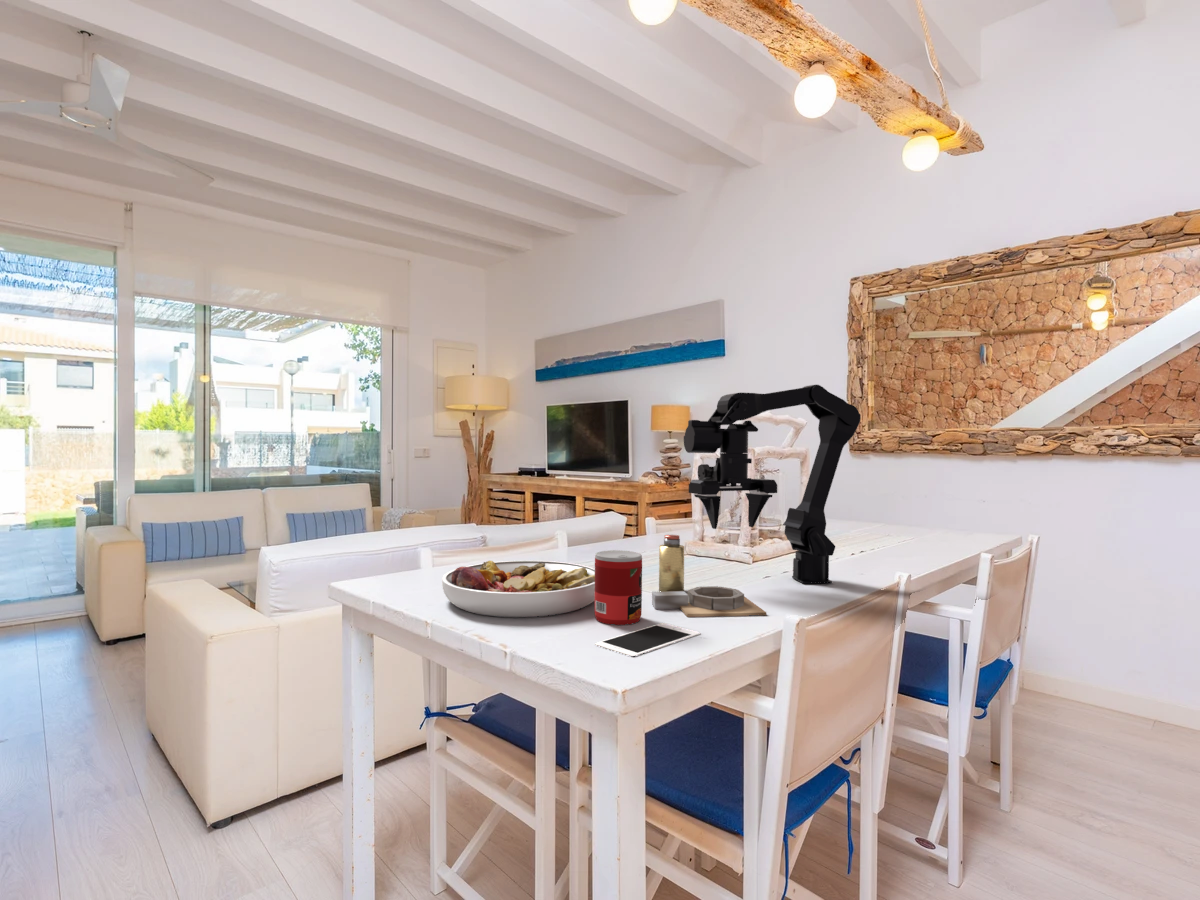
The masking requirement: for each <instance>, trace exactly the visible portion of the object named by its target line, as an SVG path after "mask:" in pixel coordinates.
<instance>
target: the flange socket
mask: <svg viewBox="0 0 1200 900" xmlns="http://www.w3.org/2000/svg"><path fill="white" fill-rule="evenodd" d="M651 605H653V606H652V607H653V608H654V610H671V609H672V610H673V609H674V610H676V609H677V610H679V609H680V610H682V611H681V612H682V613H683V614H684V616H686V618H687V617H688V618H691V617H692V618H695V617H696V618H697V617H698V618H700V617H703V618H704V617H706V618H707V617H743V616H744V617H748V616H749V615H759V616H767V611H765V610H764V609H763V608H761V607H759V606H758V604H755V603H754V602H753V601H752V600H750V599H749V598H747V597H746V596H745V593H743V592H742V591H741V590H739V589H737V588H731V587H724V586H718V585H716V586H709V585H708V586H696V587H694V588H693V587H692V588H690V589H688V590H687V592H686V591H685V590H684V591H674V592H660V591H652V592H651Z"/></svg>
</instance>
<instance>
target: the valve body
mask: <svg viewBox="0 0 1200 900" xmlns="http://www.w3.org/2000/svg"><path fill="white" fill-rule="evenodd" d="M658 546H659V547H658V549H659V551H658V553H659V554H658V555H659V556H658V557H659V561H658V592H660V591H661V592H674V591H684V592H685V545H682V544H681V538H680V535H679V534H678V535H677V534H665V535H664V536H663V544H659V545H658Z"/></svg>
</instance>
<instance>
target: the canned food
mask: <svg viewBox="0 0 1200 900" xmlns="http://www.w3.org/2000/svg"><path fill="white" fill-rule="evenodd" d="M594 556H595V557H594V569H595V600H594V617H595V620H596V621H598V622H599V623H601V622H602V624H605V625H611V624H615V625H614V626H626V625H625V624H629V625H633V624H632V623H634V624H636V622H637V623H639V621H640V620H641V617H642V601H643V598H642V597H643V557H642V556H643V555H642V553H640V552H636V551H630V550H618V549H617V550H616V549H615V550H602V551H598V552H596V553H595V555H594Z"/></svg>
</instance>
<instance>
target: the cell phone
mask: <svg viewBox="0 0 1200 900" xmlns="http://www.w3.org/2000/svg"><path fill="white" fill-rule="evenodd" d="M699 635H701V632H700V631H696V630H692V629H689V628H688V629H687V628H685V627H680V626H676V625H674V624H673V625H672V624H669V623H665V622H661V623H657V624H654V625H650V626H647V627H644V628H639V629H638V630H633V631H630V632H626V633H623V634H619V635H617V636H613V637H610V638H607V639H603V640H601V641H598V642H595V643H594V646H595V645H597V646H596V647H598V646H600V647H599V648H601V647H603V648H602V649H604V648H605V650H607V649H609V650H608V651H611V650H612V651H611V652H614V651H616V652H615V653H617V652H619V653H618V654H620V653H622V654H621V655H623V654H625V655H624V656H626V655H629V656H636V655H640V654H642V655H644V654H643V653H645V652H648V651H651V652H653V651H652V650H654V651H656V650H655V649H657V650H659V648H660V649H663V648H665V646H666V647H668V646H670V645H669V644H671V645H673V644H672V643H674V642H677V643H679V642H678V641H680V640H683V639H686V640H688V639H687V638H689V639H691V638H690V637H692V638H695V637H697V636H699ZM683 641H684V640H683ZM680 642H681V641H680ZM674 644H675V643H674ZM667 645H668V646H667ZM662 647H663V648H662ZM648 653H649V652H648ZM645 654H646V653H645ZM629 656H628V657H629ZM640 656H641V655H640Z"/></svg>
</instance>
